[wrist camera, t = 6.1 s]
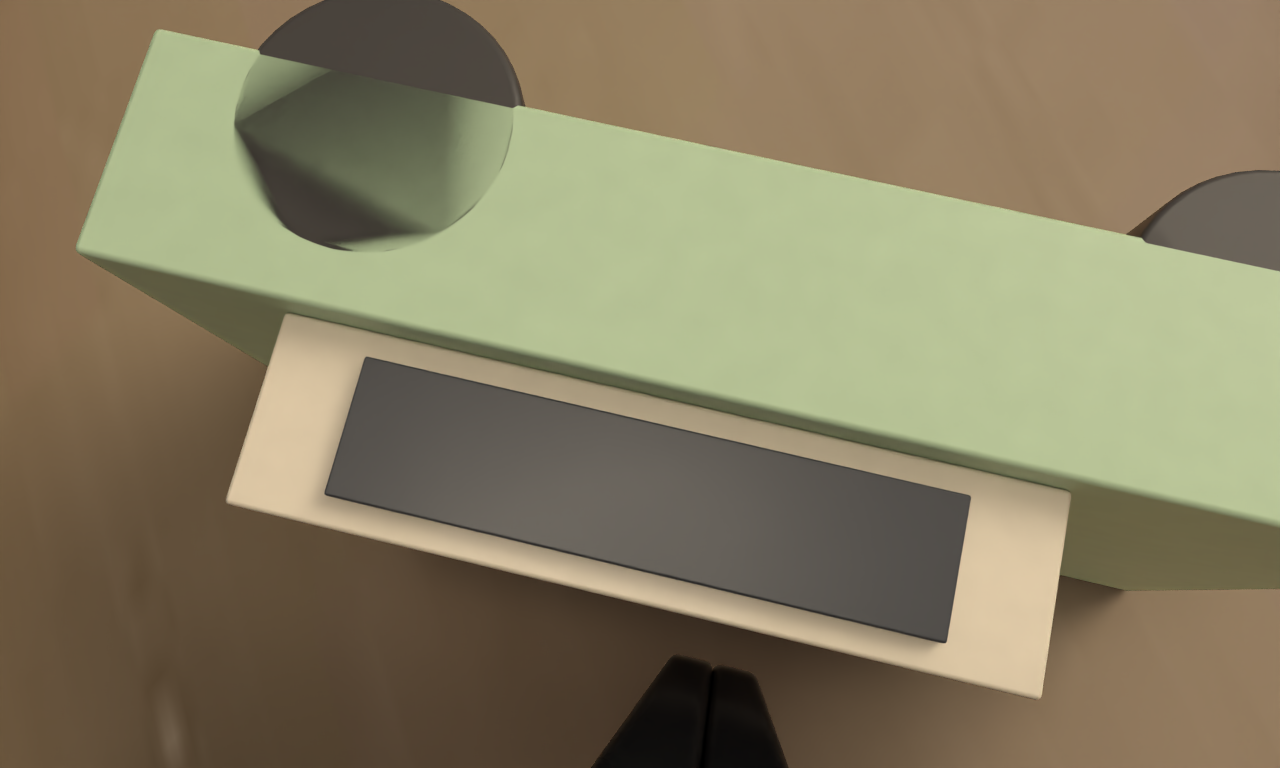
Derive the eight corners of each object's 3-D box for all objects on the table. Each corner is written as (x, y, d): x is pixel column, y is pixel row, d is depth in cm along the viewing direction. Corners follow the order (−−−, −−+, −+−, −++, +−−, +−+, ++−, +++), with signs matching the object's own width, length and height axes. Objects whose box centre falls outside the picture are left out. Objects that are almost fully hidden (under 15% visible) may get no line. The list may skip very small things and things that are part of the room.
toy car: (295, 515, 17) (-4, 449, 9) (384, 221, 18) (185, -61, 10) (1113, 713, 16) (1533, 820, 9) (1156, 392, 17) (1564, 225, 10)
